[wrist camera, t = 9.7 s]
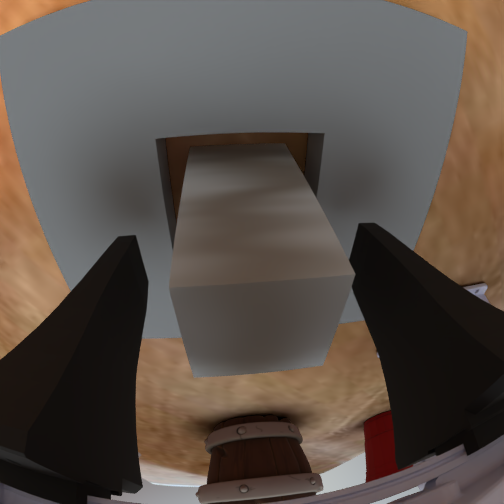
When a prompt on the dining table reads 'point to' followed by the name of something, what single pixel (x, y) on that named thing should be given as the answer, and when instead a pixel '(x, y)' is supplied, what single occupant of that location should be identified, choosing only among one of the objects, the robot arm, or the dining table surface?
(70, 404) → the robot arm
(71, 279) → the socket board
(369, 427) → the plastic cup
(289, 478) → the flowerpot
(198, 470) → the dining table surface
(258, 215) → the peg
